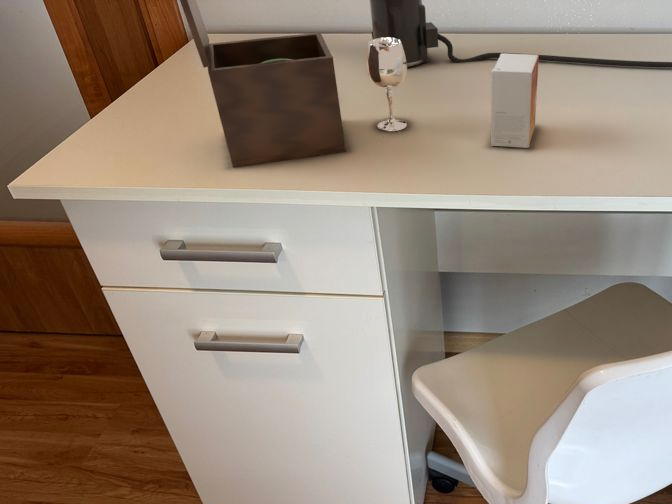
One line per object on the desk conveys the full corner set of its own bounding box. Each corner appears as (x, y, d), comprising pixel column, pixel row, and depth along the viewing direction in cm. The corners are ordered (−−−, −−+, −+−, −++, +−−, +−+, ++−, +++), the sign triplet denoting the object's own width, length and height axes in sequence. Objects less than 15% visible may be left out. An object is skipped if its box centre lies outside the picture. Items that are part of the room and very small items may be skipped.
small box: (528, 149, 95) (532, 72, 88) (489, 146, 95) (490, 70, 89) (536, 127, 100) (540, 53, 94) (499, 124, 101) (500, 52, 95)
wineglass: (373, 119, 104) (364, 37, 96) (410, 117, 104) (404, 35, 96) (372, 134, 100) (363, 49, 92) (411, 132, 100) (405, 47, 92)
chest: (333, 120, 104) (320, 32, 96) (346, 151, 95) (332, 57, 87) (230, 133, 101) (207, 43, 92) (232, 167, 92) (207, 71, 83)
